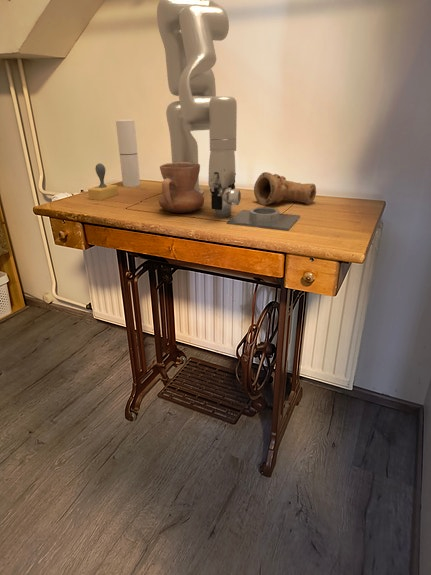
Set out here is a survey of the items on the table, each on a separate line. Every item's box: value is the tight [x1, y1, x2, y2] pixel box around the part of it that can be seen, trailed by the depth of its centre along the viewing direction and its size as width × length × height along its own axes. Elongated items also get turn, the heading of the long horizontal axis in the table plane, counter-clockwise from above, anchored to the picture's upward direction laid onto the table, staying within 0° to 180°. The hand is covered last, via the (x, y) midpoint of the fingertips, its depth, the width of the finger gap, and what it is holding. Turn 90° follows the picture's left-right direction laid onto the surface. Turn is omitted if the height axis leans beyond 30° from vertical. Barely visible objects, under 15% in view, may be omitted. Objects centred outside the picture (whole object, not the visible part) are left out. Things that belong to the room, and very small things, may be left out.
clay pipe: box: [253, 171, 317, 206], centre depth 130 cm, size 19×11×15 cm
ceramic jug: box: [158, 162, 205, 214], centre depth 122 cm, size 18×14×14 cm
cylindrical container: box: [115, 119, 141, 188], centre depth 157 cm, size 7×7×25 cm
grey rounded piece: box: [214, 186, 242, 219], centre depth 116 cm, size 7×5×8 cm, turn 66°
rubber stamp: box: [87, 162, 119, 201], centre depth 141 cm, size 10×6×12 cm, turn 154°
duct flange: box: [226, 206, 301, 231], centre depth 113 cm, size 18×14×3 cm
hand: (223, 205), depth 117 cm, fingers open, 9 cm apart
